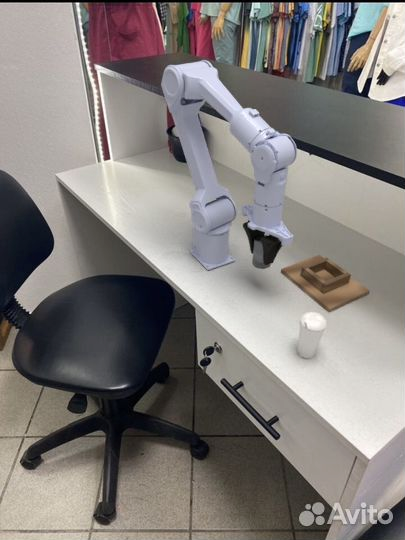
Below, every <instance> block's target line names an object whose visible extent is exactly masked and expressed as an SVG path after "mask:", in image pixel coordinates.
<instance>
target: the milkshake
mask: <svg viewBox="0 0 405 540" xmlns="http://www.w3.org/2000/svg"><path fill="white" fill-rule="evenodd" d="M299 318H300V319H299V330H298V332H299V333H298V342H297V354H298V355H299V356H300V357H301V358H304V359H306V360H307V359H313V357H314V356H315V355H316V353H317V350H318V348H319V345H320V342H321V339H322V337H323V335H324V332H325V330H326V328H327V326H328V323H327V322H328V321H327V320H326V318H325V316H323V315H322V314H321V313H319V312H316V311H307V312H305V313H303V314H302V315H301V316H300V317H299Z"/></svg>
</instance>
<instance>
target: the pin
mask: <svg viewBox="0 0 405 540" xmlns="http://www.w3.org/2000/svg"><path fill="white" fill-rule="evenodd" d="M265 236H269V234H268V235H266V234H264V235H258V236H256V237H255V239H254V249H253V254H252V258H251V259H252V262H251V264H252V266H253V267H254V268H256V269H259V270H260V269H261V270H263V269H264V270H265V269H268V268H270V267H271V265H272V263H271V264H269V265H265V264H264V262H263V245H262V242H261V240H260V238H262V237H265Z"/></svg>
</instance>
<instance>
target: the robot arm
mask: <svg viewBox="0 0 405 540" xmlns="http://www.w3.org/2000/svg"><path fill="white" fill-rule="evenodd" d="M160 86H161V89H162V90H161V91H162V93H163V95H164V99H165V101H166V105H167V108H168V111H169V113H170V114H171V117H172V119H173V123H174V126H175V129H176V132H177V135H178V138H179V141H180V145H181V148H182V151H183V154H184V157H185V161H186V163H187V167H188V170H189V173H190V177H191V179H192V183H193V186H194V189H195V193H194V195H193V197H192V198H191V200H190V202H189V207H190V210H191V211H190V213H191V222H192V225H193V228H192V249H189V252H190V254H191V255H192V256H193V257H194V258H195V259H196V260H197V261H198V262H199V263H200V264H201V265H202V266H203V267H204V268H205V269H206V270H208V271H210V270H211V271H212V270H214V269H217V268H218V267H222V266H225V265H229V264H231V263H233V262H234V263H235V261H236V259H235V258H234V257H233V256H232V255H231V254H230V252H229V244H230V243H229V242H230V227H232V225H233V221H235V220H236V218H237V216H238V208H237V204H236V203H235V200H233V198H232V196H231V194H230V190H229V189H228V188H226V187H224V186H223V185H222V186H221V184H219V181H218V178H217V175H216V171H215V168H214V165H213V162H212V158H211V154H210V152H209V148H208V146H207V141H206V139H205V134H204V131H203V128H202V126H201V122H200V119H199V112H200V109H201V108H202V106H204V104H205V103H207V104H209V105H210V107H212V108H213V109H214V111H215V110H216V112H217V113H219V115H221V116H222V117H223V118H224V119H225V120H226V121H227V122H228V123H229V131H230V134H231V135H232V136H233V137H234V138H235V140H237V141H238V142H239V144H241V145H242V146H243V148H244V149H246V151H247V152H248V153H249V154H250V155H249V156H250V162H251V166H252V167H253V172H254V173H253V177H254V179H255V183H254V192H253V193H254V194H253V205H251V204H246V205H243V206H241V212H240V213H241V216H243V217H246V218H247V221H246V222H244V223H243V224H242V228H243V230H244V231H245V232H244V233H245V234H246V236H247V240H248V243H249V249H250V250H249V251H250V253H251V254H252V255H253V249H254V239H255V237H256V236H258V235H266V234H268V236H265V237H262V238H260V240H261V242H262V245H263V262H264V264H265V265H269V264H271V265H272V264H274V261H275V260H276V257H277V255H278V253H279V251H280V250H281V248H282V247H285V248H286V247H289V246H291V245H293V243H294V242H293V241H294V237H295V236H294V235H293V234H292V233H291V232H290V231H289V229H288V228H287V226H286V225H285V224H284V222H283V220H282V215H283V207H284V201H285V193H286V186H287V179H288V172H289V166H291V165H292V164H294V162H295V161H296V160H297V156H298V148H297V144H296V143H295V141H294V139H293V138H292V137H291V135H289V134H287V133H280V132H279V131H276V130H275V128H274V127H271V126H270V125H269V124H268V123H267V122H266V121H265V120H264V119H263V117H261V116H260V112H259V110H257V109H253V108H251V107H245V108H244V107H243V106H241V104H240V103H239V102H238V101H237V99H236V98H235V97H234V95H232V93H231V92H230V90H228V88H226V86H225V85H224V84H223V83H222V81H221V80H220V79H219V71H218V69H217V68H216V67H214V66H213V65H212V63H211V62H210V61H208V60H206V59H202V60H201V59H200V60H198V61H194V62H187V63H182V64H169V65H167V66H166V67H165V68H164V71H163V74H162V79H161V83H160Z"/></svg>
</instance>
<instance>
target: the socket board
mask: <svg viewBox="0 0 405 540" xmlns="http://www.w3.org/2000/svg"><path fill="white" fill-rule="evenodd" d="M280 273H281V274H282V275H284V276H285V277H286V278H287V279H288V280H289V281H291V283H293V284H294V285H295V286H297V288H298V289H300V290H301V291H302V292H304V294H306V295H307V296H309V297H310V298H311V299H312V300H313V301H315V302H316V303H317V304H318V305H319V306H321V308H323V309H324V310H325V311H327V312H328V313H331V312H333V311H335V310H338V309H340V308H342V307H344V306H346V305H348V304H350V303H352V302H354V301H356V300H359V299H361V298H363V297H365V296H367V295H369V294H370V291H371V290H369V289H368V288H367V287H365V286H364V285H363V284H362V283H360V282H358V281H357V280H355V279H354V278H353V277H352V274H351V273H350V272H348V271H347V270H345V269H344V268H342V267H341V266H339V265H338V264H337V263H336V262H333V260H331V259H329V258H328V257H323V256H322V255H320V254H317V255H314V256H312V257H309V258H307V259H304V260H302V261H299V262H296V263H294V264H291V265H289V266H286V267H283V268H281V269H280Z"/></svg>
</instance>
